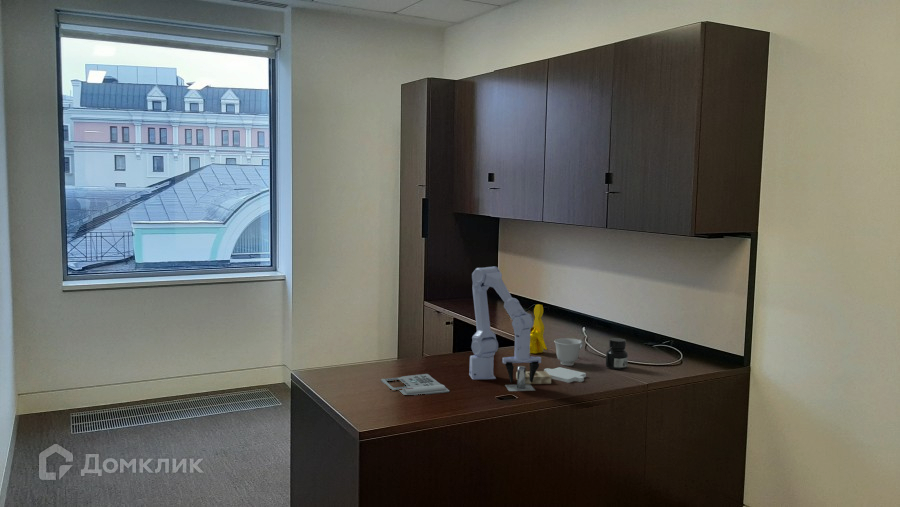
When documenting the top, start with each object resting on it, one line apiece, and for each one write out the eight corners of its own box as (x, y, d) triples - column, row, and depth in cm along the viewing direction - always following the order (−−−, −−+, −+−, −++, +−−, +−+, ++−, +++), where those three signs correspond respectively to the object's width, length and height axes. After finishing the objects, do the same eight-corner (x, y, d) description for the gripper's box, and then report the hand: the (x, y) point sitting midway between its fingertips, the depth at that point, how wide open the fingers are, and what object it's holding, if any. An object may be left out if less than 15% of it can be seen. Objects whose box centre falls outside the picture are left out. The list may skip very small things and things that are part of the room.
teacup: (592, 364, 304) (592, 341, 303) (566, 369, 296) (567, 345, 295) (572, 358, 314) (573, 336, 313) (547, 362, 306) (548, 340, 305)
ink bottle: (618, 371, 293) (619, 343, 292) (600, 367, 300) (602, 339, 299) (631, 367, 300) (633, 340, 299) (614, 363, 306) (615, 336, 305)
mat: (509, 391, 262) (509, 391, 262) (504, 385, 270) (504, 384, 270) (535, 391, 264) (535, 390, 264) (529, 385, 272) (530, 384, 272)
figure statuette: (514, 350, 328) (515, 303, 326) (525, 347, 333) (526, 301, 331) (543, 357, 315) (545, 308, 313) (555, 354, 320) (556, 306, 318)
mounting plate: (591, 379, 283) (591, 374, 283) (573, 385, 273) (573, 380, 273) (554, 370, 295) (554, 365, 295) (535, 376, 286) (535, 371, 286)
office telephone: (450, 387, 261) (399, 392, 253) (450, 394, 261) (398, 399, 253) (427, 370, 282) (379, 374, 274) (427, 376, 282) (379, 381, 274)
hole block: (520, 384, 272) (520, 377, 271) (515, 379, 279) (516, 371, 279) (551, 384, 273) (551, 376, 273) (545, 378, 281) (545, 371, 281)
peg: (518, 388, 265) (518, 367, 264) (516, 386, 268) (516, 365, 267) (525, 388, 266) (526, 367, 265) (523, 386, 269) (524, 365, 268)
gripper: (505, 349, 260) (504, 385, 262) (543, 348, 262) (542, 384, 264) (501, 344, 267) (500, 379, 269) (538, 344, 269) (537, 378, 271)
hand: (521, 381), depth 267 cm, fingers open, 7 cm apart
